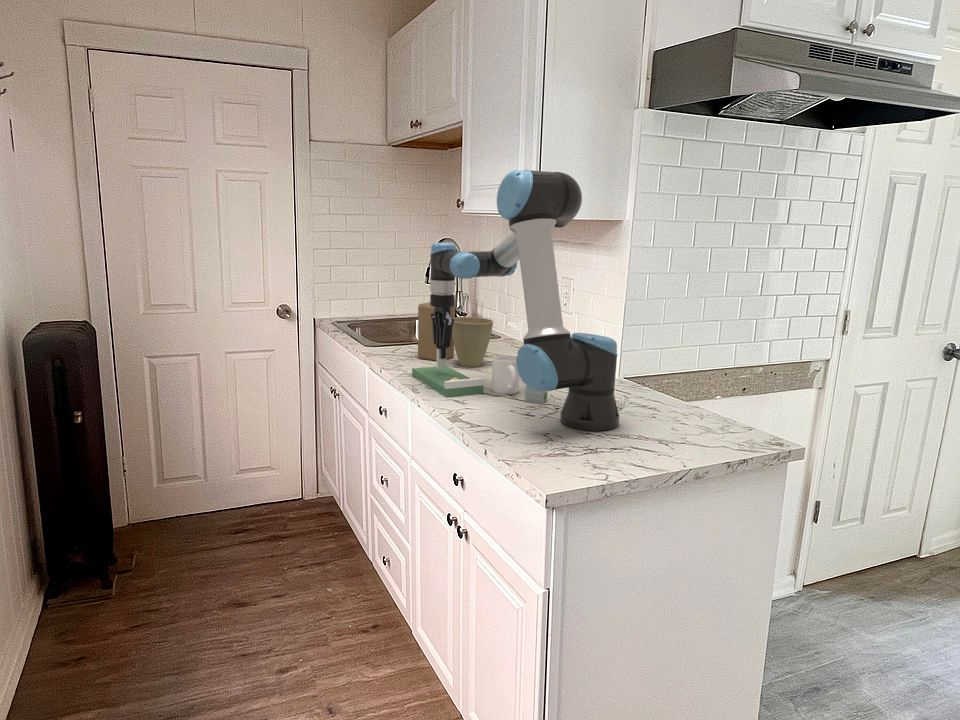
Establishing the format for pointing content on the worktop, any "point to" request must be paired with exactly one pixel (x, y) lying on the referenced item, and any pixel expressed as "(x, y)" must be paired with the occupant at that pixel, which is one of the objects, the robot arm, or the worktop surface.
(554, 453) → the worktop surface
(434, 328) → the robot arm
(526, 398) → the small box
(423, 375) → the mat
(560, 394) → the worktop surface
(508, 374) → the mug
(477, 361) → the plant pot
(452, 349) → the wooden block
